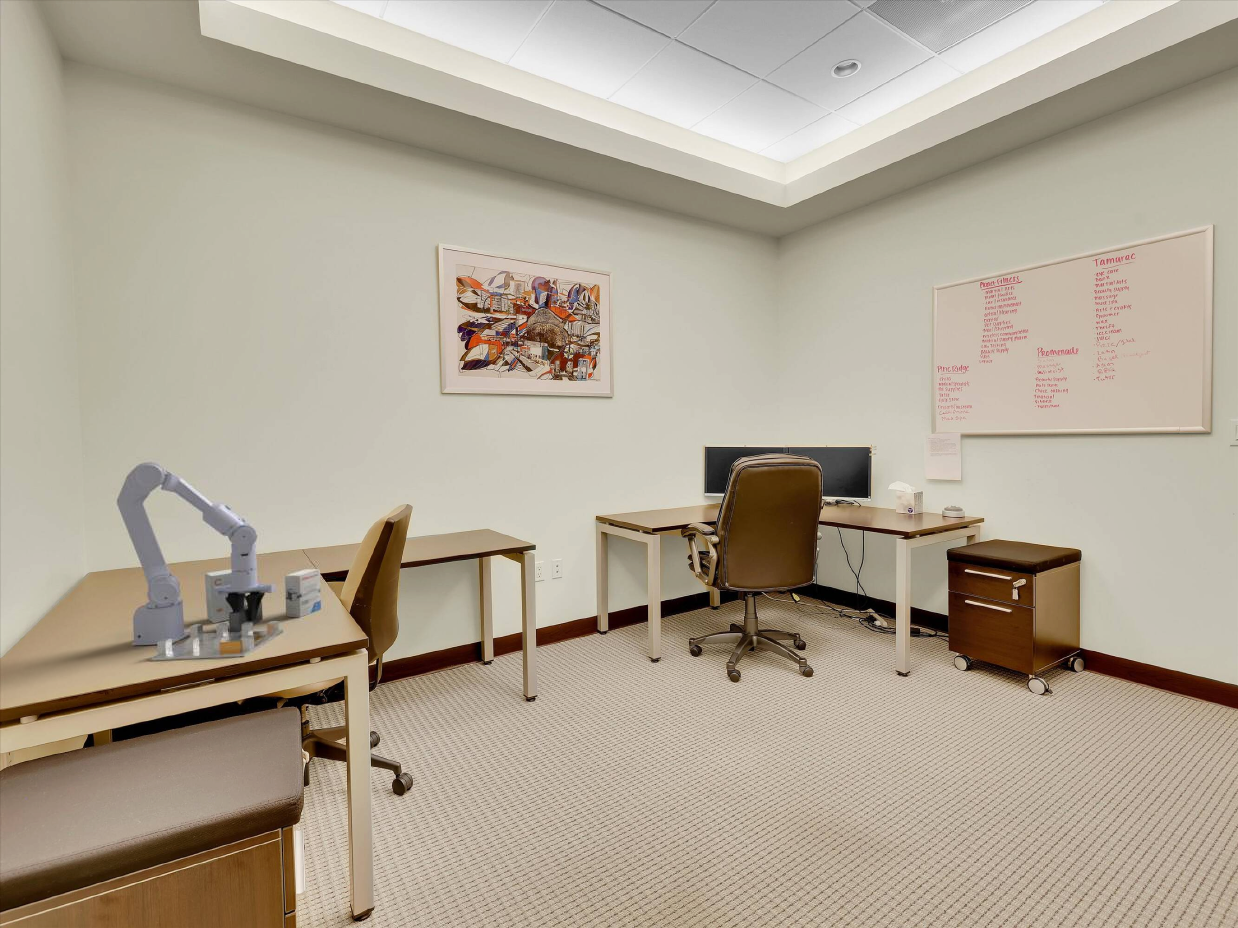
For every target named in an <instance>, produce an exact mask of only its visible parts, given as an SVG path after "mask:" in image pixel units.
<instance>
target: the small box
mask: <svg viewBox="0 0 1238 928" xmlns="http://www.w3.org/2000/svg"><path fill="white" fill-rule="evenodd" d="M204 582H205V583H204V584H205V598H206V599H205V600H206V601H205V602H206V616H207V617H206V618H207V619H206V620H208V619H209V620H208V621H210V622H211V621H212V622H211V623H213V624H215V623H222V622H225V621H229V613H230V612H233V610H232V608H231V606H230V605H229V604H228V602H227V601H226V599H225V598H226V597H228V594H220V595H215V591H214V588H216V587H218V586H229V585H232V573H231V568H230V569H224V570H217V571H211V572H205V573H204ZM245 596H247V593H246V594H245ZM245 605H247V602H246V599H245V600H244V606H245ZM221 621H222V622H221Z"/></svg>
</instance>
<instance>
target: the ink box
mask: <svg viewBox="0 0 1238 928" xmlns="http://www.w3.org/2000/svg"><path fill="white" fill-rule="evenodd" d="M284 580H285V581H284V586H285V587H284V588H285V590H284V591H285V616H286V617H288V618H289V617H290V618H302V617H304V616H307V615H310V614H312V613H314V612H318V611H319V609H320V610H321V609H322V597H321V569H317V568H313V569H312V568H311V569H310V568H309V569H308V568H306V569H302V570H299V571H296V572H292V573H289V574H286V575H285V576H284ZM309 613H310V614H309Z"/></svg>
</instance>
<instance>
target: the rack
mask: <svg viewBox="0 0 1238 928" xmlns="http://www.w3.org/2000/svg"><path fill="white" fill-rule="evenodd" d="M203 626H204V625H203V623H195V624H193V625H190V626H189V632H190V635H189V638H188V639H187V640H186V641H183V642H181V643H179V644H178V645H175V646H173V643H172V638H171V639H162V640H160V641H158V642H157V644H156V645H157V655H155V656H153V657H151V661H152V662H153V661H155V662H156V661H175V660H197V659H218V658H219V659H220V658H221V659H222V658H240V656H245V657H246V656H248V655H249V654H251V653H253V652H254V651H255V650H257V649H260V648H261V647H262V646H264V645H265V644H267V643H269V642H270V641H272V640H273V639H275V638H277V637H278V636H281V634H283V633H284V630H282V629H281V630H280V628H279V627H280V626H279V620H272V621H268V622H267V623H266V630H256V631H254V630H253V627H254V625H253V622H246V623H244V624H242V631H241V632H230V631H229V630H228V629H229V622H220V623H219V624H217V625H215V627H216V632H207V633H205V632H204V630H203V629H204V627H203Z"/></svg>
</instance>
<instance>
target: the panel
mask: <svg viewBox="0 0 1238 928" xmlns="http://www.w3.org/2000/svg"><path fill="white" fill-rule="evenodd" d="M263 618H264V617H263V601H262V600H261V603H260V605H259V608H258V612H257V616H256V619H255V620H253V621H249V616H248V606H247V604H246V605H245V606H243V607H241V608H239V609H237V610H235V611H233V612H230V613H229V620H228V627H229V632H242V624H244V623H246V622H253V626H254V625H256V624H258V622H259V623H260V621H263V620H262V619H263Z"/></svg>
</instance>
